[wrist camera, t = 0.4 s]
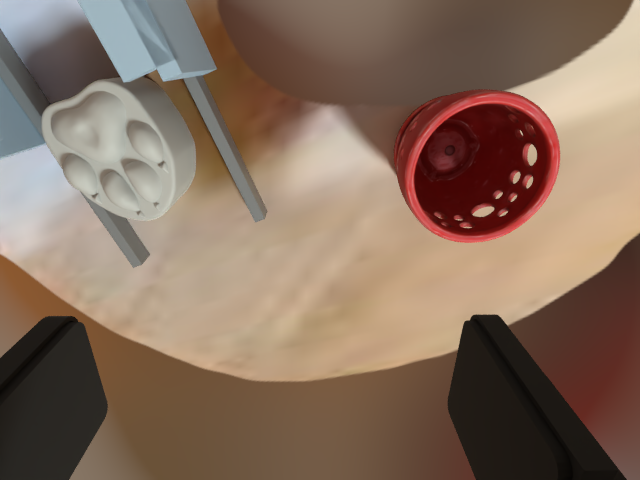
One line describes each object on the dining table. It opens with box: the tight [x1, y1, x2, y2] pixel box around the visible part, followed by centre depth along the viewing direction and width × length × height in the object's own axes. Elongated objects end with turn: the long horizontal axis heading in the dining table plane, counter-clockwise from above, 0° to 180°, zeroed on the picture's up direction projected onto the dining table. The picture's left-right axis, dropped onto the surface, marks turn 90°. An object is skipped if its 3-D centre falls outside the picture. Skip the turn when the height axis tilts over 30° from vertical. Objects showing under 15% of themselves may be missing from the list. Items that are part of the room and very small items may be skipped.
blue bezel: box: [0, 0, 217, 159], centre depth 33 cm, size 10×21×12 cm, turn 111°
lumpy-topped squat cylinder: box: [41, 76, 196, 221], centre depth 38 cm, size 10×13×9 cm
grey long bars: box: [0, 29, 267, 268], centre depth 40 cm, size 28×17×2 cm, turn 21°
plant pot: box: [394, 90, 560, 243], centre depth 37 cm, size 13×13×12 cm
